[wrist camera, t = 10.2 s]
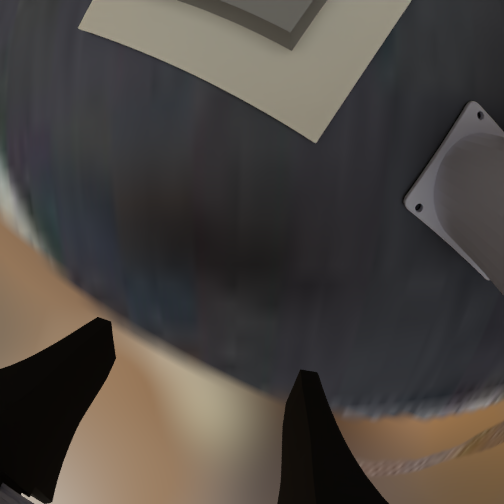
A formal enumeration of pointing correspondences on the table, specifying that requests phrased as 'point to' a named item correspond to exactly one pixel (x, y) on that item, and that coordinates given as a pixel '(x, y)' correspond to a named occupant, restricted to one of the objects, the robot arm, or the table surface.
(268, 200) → the table surface
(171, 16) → the socket block on plate
